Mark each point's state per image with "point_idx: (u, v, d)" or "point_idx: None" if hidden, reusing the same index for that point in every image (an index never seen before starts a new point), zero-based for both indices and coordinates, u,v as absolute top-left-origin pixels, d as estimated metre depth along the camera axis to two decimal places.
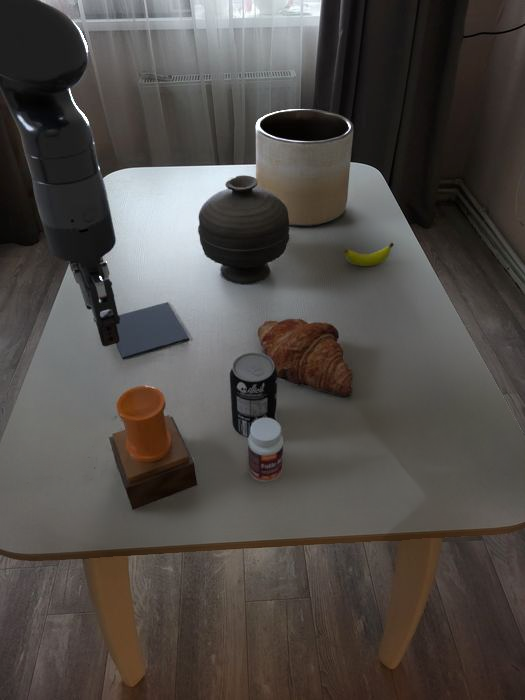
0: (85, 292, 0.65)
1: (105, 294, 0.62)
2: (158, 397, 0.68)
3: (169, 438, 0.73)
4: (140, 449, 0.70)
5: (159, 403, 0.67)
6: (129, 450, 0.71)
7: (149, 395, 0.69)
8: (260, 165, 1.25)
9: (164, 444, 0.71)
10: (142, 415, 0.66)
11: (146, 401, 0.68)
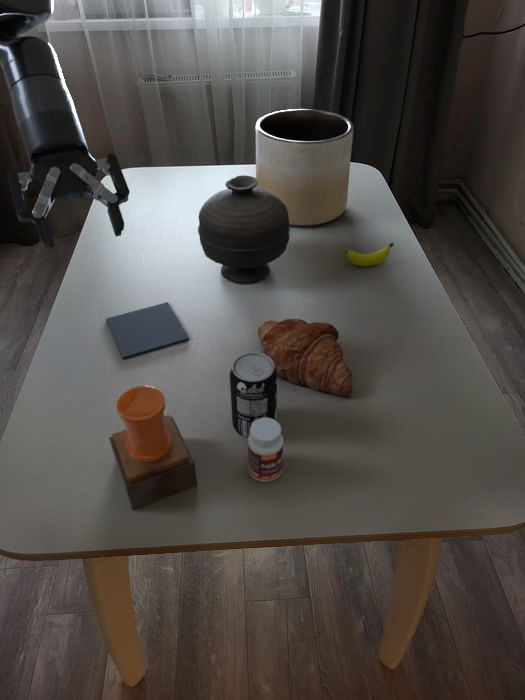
0: (93, 178, 0.72)
1: None
2: (158, 397, 0.68)
3: (169, 438, 0.73)
4: (140, 449, 0.70)
5: (159, 403, 0.67)
6: (129, 450, 0.71)
7: (149, 395, 0.69)
8: (260, 165, 1.25)
9: (164, 444, 0.71)
10: (142, 415, 0.66)
11: (146, 401, 0.68)
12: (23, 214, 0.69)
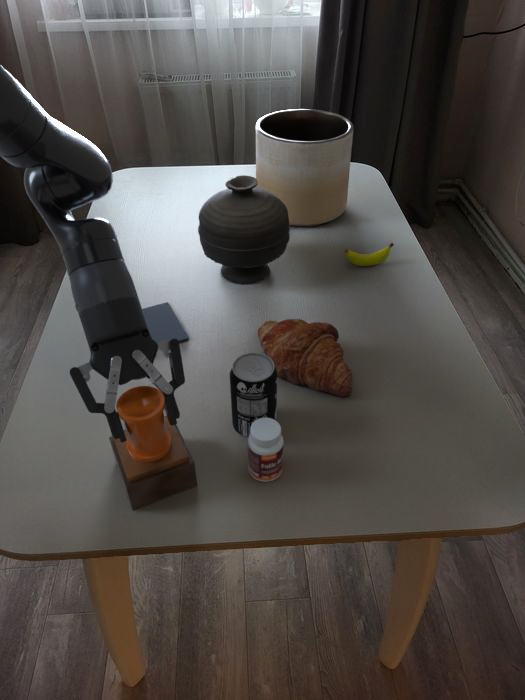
0: (153, 366, 0.69)
1: None
2: (158, 397, 0.68)
3: (169, 438, 0.73)
4: (140, 449, 0.70)
5: (158, 403, 0.67)
6: (129, 450, 0.71)
7: (149, 395, 0.68)
8: (260, 165, 1.25)
9: (164, 444, 0.71)
10: (142, 415, 0.66)
11: (146, 401, 0.68)
12: (96, 410, 0.66)
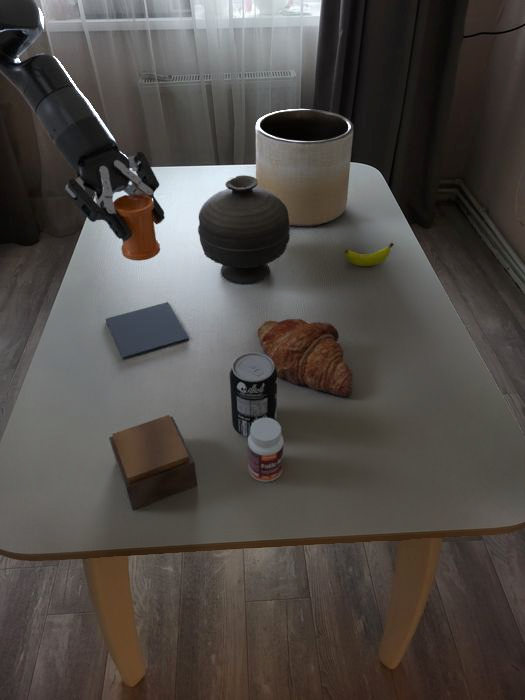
0: None
1: None
2: (145, 197, 0.82)
3: (156, 240, 0.86)
4: (140, 247, 0.83)
5: (148, 199, 0.81)
6: (129, 254, 0.83)
7: (136, 197, 0.81)
8: (260, 165, 1.25)
9: (156, 242, 0.85)
10: (141, 207, 0.79)
11: (137, 201, 0.81)
12: (101, 212, 0.77)
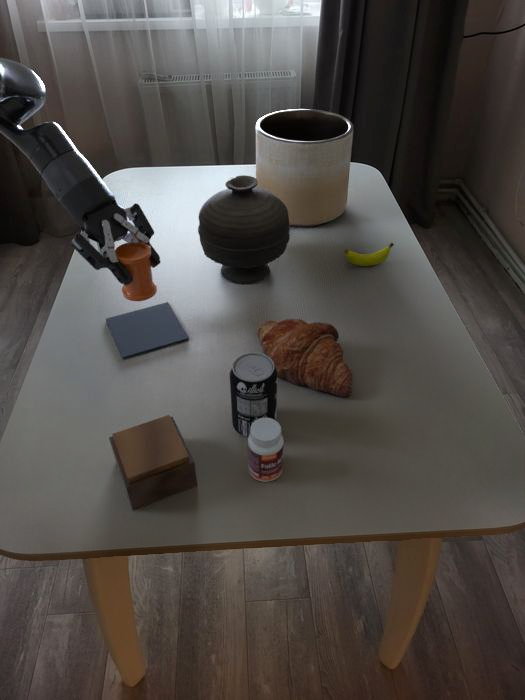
0: None
1: None
2: (142, 245, 0.91)
3: (152, 282, 0.96)
4: (140, 289, 0.92)
5: (146, 247, 0.90)
6: (129, 296, 0.93)
7: (135, 246, 0.91)
8: (260, 165, 1.25)
9: (153, 284, 0.94)
10: (140, 255, 0.89)
11: (135, 249, 0.90)
12: (105, 261, 0.87)
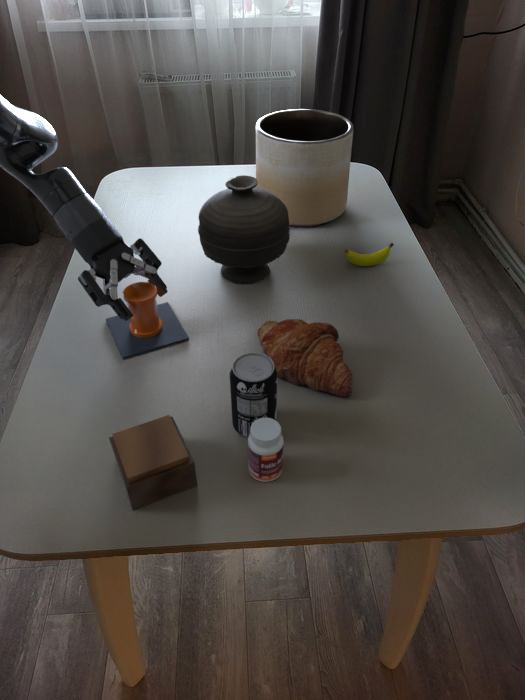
0: None
1: None
2: (149, 285, 0.96)
3: (158, 318, 1.01)
4: (147, 327, 0.97)
5: (152, 288, 0.96)
6: (137, 333, 0.98)
7: (142, 286, 0.96)
8: (260, 165, 1.25)
9: (159, 321, 1.00)
10: (147, 296, 0.94)
11: (143, 289, 0.95)
12: (105, 300, 0.90)
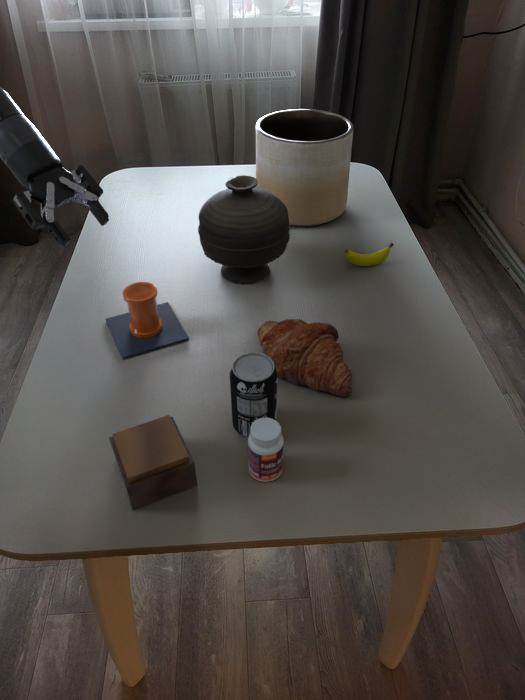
0: None
1: None
2: (149, 285, 0.96)
3: (158, 318, 1.01)
4: (147, 327, 0.97)
5: (152, 288, 0.96)
6: (137, 333, 0.98)
7: (142, 286, 0.96)
8: (260, 165, 1.25)
9: (159, 321, 1.00)
10: (147, 296, 0.94)
11: (143, 289, 0.95)
12: (41, 221, 0.89)
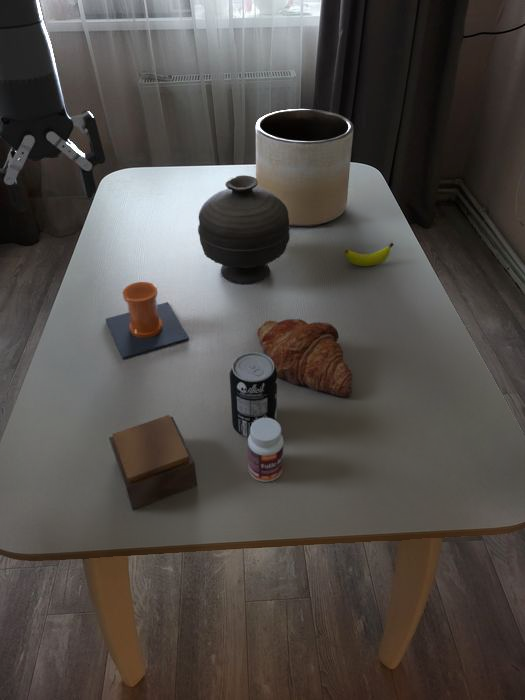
0: (69, 145, 0.68)
1: None
2: (149, 285, 0.96)
3: (158, 318, 1.01)
4: (147, 327, 0.97)
5: (152, 288, 0.96)
6: (137, 333, 0.98)
7: (142, 286, 0.96)
8: (260, 165, 1.25)
9: (159, 321, 1.00)
10: (147, 296, 0.94)
11: (143, 289, 0.95)
12: None
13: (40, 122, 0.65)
